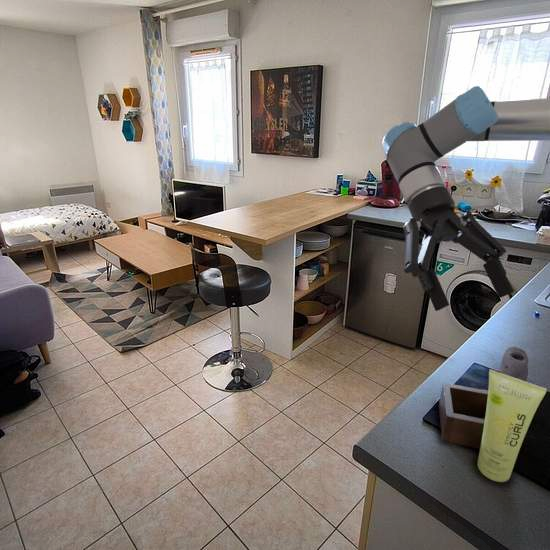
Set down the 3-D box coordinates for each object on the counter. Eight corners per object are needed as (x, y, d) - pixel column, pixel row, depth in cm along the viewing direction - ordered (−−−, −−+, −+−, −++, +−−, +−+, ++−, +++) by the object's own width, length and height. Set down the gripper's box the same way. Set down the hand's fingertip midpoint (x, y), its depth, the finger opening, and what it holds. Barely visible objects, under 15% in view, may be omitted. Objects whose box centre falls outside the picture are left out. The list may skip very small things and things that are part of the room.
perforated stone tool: (521, 412, 75) (529, 385, 72) (492, 402, 77) (499, 375, 75) (525, 373, 86) (532, 348, 83) (499, 366, 89) (505, 341, 86)
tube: (482, 483, 60) (508, 389, 53) (467, 457, 65) (489, 368, 57) (516, 483, 60) (547, 389, 53) (499, 457, 65) (525, 367, 57)
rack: (490, 415, 74) (496, 392, 72) (501, 454, 66) (508, 428, 63) (438, 405, 77) (442, 382, 75) (442, 440, 69) (447, 416, 66)
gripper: (466, 202, 75) (514, 297, 68) (360, 214, 68) (401, 320, 61) (493, 179, 69) (549, 281, 61) (378, 189, 62) (426, 306, 54)
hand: (475, 301), depth 61 cm, fingers open, 13 cm apart
